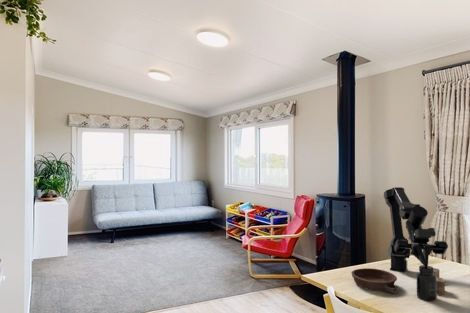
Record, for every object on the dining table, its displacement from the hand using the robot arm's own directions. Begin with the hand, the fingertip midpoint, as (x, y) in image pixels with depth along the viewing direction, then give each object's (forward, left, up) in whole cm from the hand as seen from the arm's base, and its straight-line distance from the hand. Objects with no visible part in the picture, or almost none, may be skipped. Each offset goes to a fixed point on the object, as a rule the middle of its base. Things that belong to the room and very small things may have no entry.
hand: (426, 266), depth 133 cm
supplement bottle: (0, 0, -13) cm, 12 cm away
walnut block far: (-2, +23, -13) cm, 26 cm away
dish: (-20, +1, -13) cm, 24 cm away
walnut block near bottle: (+2, +10, -12) cm, 16 cm away
